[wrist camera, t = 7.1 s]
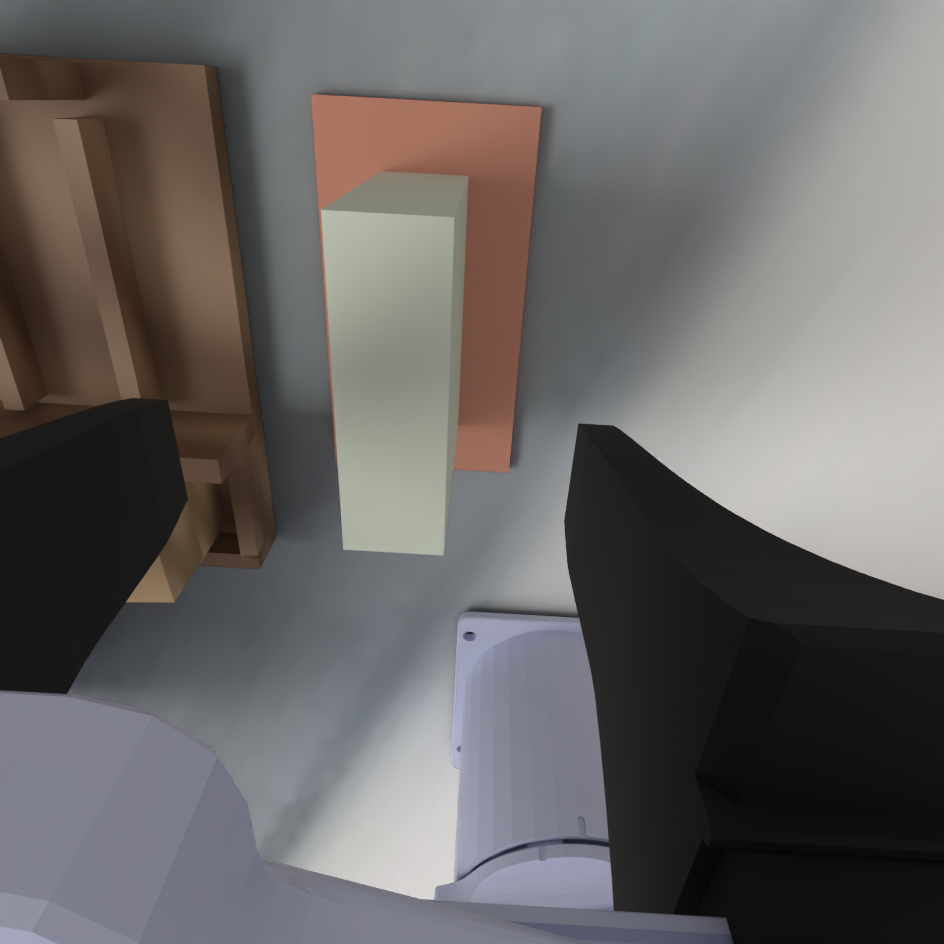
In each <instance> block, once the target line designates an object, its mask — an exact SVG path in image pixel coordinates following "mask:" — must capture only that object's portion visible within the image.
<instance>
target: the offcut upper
mask: <svg viewBox="0 0 944 944" xmlns="http://www.w3.org/2000/svg"><path fill="white" fill-rule="evenodd" d="M202 558H203V554H202V550H201V547H200V543H199V540H198V537H197V533H196V530H195V526H194V523H193V519H192V516H191V512H190V509H189V505H188V502H186V505H185V507H184V509H183V511H182V513H181V516H180V518H179V520H178V522H177V524H176V526H175V528H174V530H173V532H172V534H171V536H170V538H169V540H168V542H167V544H166V545H165V547H164V548H163V550H162V551H161V553H160V554H159V556H158V557H157V558H156V560H155V561H154V563H153V564H152V566H151V567H150V569H149V570H148V571H147V573H146V574H145V576H144V577H143V579H142V580H141V581H140V583H139V584H138V586H137V587H136V588H135V590H134V591H133V593H132V594H131V595H130V597H129V598H128V600H127V601H126V602H175V601H176V599H177V598H178V596H179V595H180V593H181V591H182V590H183V588H184V587H185V585H186V584H187V582H188V580H189V579H190V577H191V576H192V574H193V573H194V571H195V569H196V568H197V566H198V565H199V563H200V561H201V560H202Z"/></svg>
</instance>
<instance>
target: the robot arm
mask: <svg viewBox="0 0 944 944" xmlns="http://www.w3.org/2000/svg"><path fill="white" fill-rule="evenodd" d="M187 500H188V496H187V491H186V486H185V482H184V477H183V472H182V467H181V462H180V457H179V452H178V447H177V442H176V438H175V433H174V428H173V423H172V418H171V413H170V408H169V403H168V400H161V399H144V398H130V399H124V400H119V401H114V402H110V403H107V404H103V405H100V406H96V407H93V408H90V409H86V410H83V411H80V412H77V413H74V414H71V415H68V416H65V417H62V418H59V419H56V420H53V421H50V422H47V423H44V424H41V425H38V426H35V427H32V428H29V429H27V430H24V431H21V432H18V433H15V434H11V435H8V436H5V437H2V438H0V944H944V600H942V599H939V598H935V597H932V596H928V595H925V594H921V593H918V592H915V591H912V590H909V589H905V588H903V587H900V586H897V585H894V584H891V583H888V582H886V581H883V580H880V579H877V578H874V577H871V576H868V575H866V574H863V573H860V572H857V571H855V570H852V569H850V568H847V567H845V566H842V565H840V564H837V563H834V562H832V561H829V560H827V559H825V558H822V557H820V556H818V555H816V554H814V553H811V552H809V551H807V550H805V549H802V548H800V547H798V546H796V545H793V544H791V543H789V542H787V541H785V540H783V539H781V538H779V537H777V536H775V535H773V534H771V533H769V532H767V531H765V530H763V529H761V528H759V527H758V526H756V525H754V524H752V523H750V522H749V521H747V520H745V519H743V518H741V517H740V516H738V515H736V514H734V513H732V512H731V511H729V510H728V509H726V508H724V507H723V506H721V505H719V504H718V503H716V502H715V501H713V500H712V499H710V498H709V497H707V496H706V495H705V494H703V493H702V492H700V491H699V490H697V489H696V488H694V487H693V486H691V485H690V484H689V483H687V482H686V481H684V480H683V479H682V478H680V477H679V476H678V475H676V474H675V473H674V472H672V471H671V470H670V469H669V468H667V467H666V466H665V465H663V464H662V463H661V462H660V461H658V460H657V459H656V458H655V457H653V456H652V455H651V454H650V453H648V452H647V451H646V450H645V449H644V448H642V447H641V446H640V445H639V444H637V443H636V442H635V441H634V440H633V439H631V438H630V437H629V436H628V435H626V434H625V433H624V432H622V431H621V430H620V429H618V428H617V427H615V426H611V425H594V424H578V431H577V438H576V444H575V451H574V458H573V465H572V472H571V479H570V486H569V492H568V499H567V506H566V513H565V520H564V523H565V538H566V551H567V563H568V570H569V575H570V579H571V584H572V589H573V593H574V598H575V602H576V607H577V611H578V616H579V618H573V617H555V616H538V615H521V614H504V613H487V612H465V613H463V614H461V615H460V616H459V619H458V629H457V649H456V669H455V689H454V709H453V729H452V749H451V764H452V765H453V766H454V767H455V768H457V769H460V773H459V792H458V811H457V830H456V849H455V868H454V883H450V884H446V885H441V886H437V887H436V888H435V898H434V900H424V899H418V898H414V897H410V896H406V895H402V894H398V893H394V892H391V891H387V890H383V889H379V888H375V887H371V886H367V885H363V884H359V883H355V882H352V881H348V880H344V879H340V878H336V877H332V876H328V875H324V874H320V873H316V872H312V871H309V870H305V869H301V868H297V867H293V866H289V865H285V864H281V863H277V862H273V861H268V860H264V859H261V857H260V855H259V853H258V850H257V847H256V843H255V838H254V833H253V828H252V823H251V819H250V814H249V809H248V804H247V802H246V800H245V799H244V797H243V795H242V794H241V792H240V791H239V789H238V787H237V786H236V784H235V783H234V781H233V780H232V778H231V776H230V775H229V773H228V772H227V770H226V768H225V767H224V765H223V764H222V762H221V761H220V759H219V757H218V756H217V754H216V753H215V751H214V750H213V748H212V747H210V746H209V745H207V744H206V743H204V742H202V741H201V740H199V739H197V738H196V737H194V736H193V735H191V734H189V733H188V732H186V731H184V730H183V729H181V728H180V727H178V726H176V725H175V724H173V723H172V722H170V721H168V720H167V719H165V718H163V717H162V716H160V715H159V714H157V713H155V712H153V711H148V710H144V709H140V708H135V707H131V706H127V705H122V704H118V703H114V702H109V701H105V700H100V699H96V698H92V697H87V696H83V695H70V694H67V693H68V691H69V689H70V687H71V686H72V684H73V682H74V680H75V678H76V677H77V675H78V673H79V671H80V669H81V667H82V666H83V664H84V662H85V661H86V659H87V658H88V656H89V654H90V653H91V651H92V650H93V648H94V647H95V645H96V644H97V642H98V640H99V639H100V638H101V636H102V635H103V633H104V632H105V631H106V629H107V628H108V626H109V625H110V624H111V622H112V621H113V619H114V618H115V616H116V615H117V614H118V612H119V611H120V609H121V608H122V607H123V605H124V604H125V602H126V601H127V600H128V598H129V597H130V595H131V594H132V593H133V591H134V590H135V588H136V587H137V586H138V584H139V583H140V581H141V580H142V579H143V577H144V576H145V574H146V573H147V571H148V570H149V569H150V567H151V566H152V564H153V563H154V561H155V560H156V558H157V557H158V556H159V554H160V553H161V551H162V550H163V548H164V547H165V545H166V544H167V542H168V540H169V538H170V536H171V534H172V532H173V530H174V528H175V526H176V524H177V522H178V520H179V518H180V516H181V513H182V511H183V509H184V507H185V505H186V502H187ZM466 632H473V634H467V633H466Z"/></svg>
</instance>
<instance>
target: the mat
mask: <svg viewBox="0 0 944 944" xmlns="http://www.w3.org/2000/svg"><path fill="white" fill-rule="evenodd" d="M311 103H312V118H313V133H314V148H315V163H316V178H317V193H318V208H319V223H320V237H321V252H322V267H323V282H324V297H325V312H326V327H327V342H328V357H329V372H330V387H331V401H332V416H333V431H334V446H335V461H336V463H338V461H337V446H336V431H335V416H334V401H333V386H332V370H331V355H330V340H329V325H328V310H327V295H326V279H325V264H324V249H323V234H322V219H321V209H323V208H325V207H326V206H328V205H329V204H331V203H332V202H334V201H335V200H337V199H338V198H340V197H341V196H343V195H345V194H346V193H348V192H349V191H351V190H352V189H354V188H355V187H357V186H358V185H360V184H361V183H363V182H365V181H366V180H368V179H369V178H371V177H372V176H374V175H375V174H377V173H378V172H380V171H391V172H409V173H427V174H445V175H463V176H469V177H468V201H467V226H466V250H465V274H464V298H463V322H462V347H461V371H460V395H459V419H458V432H457V441H456V450H455V459H454V468H453V469H455V470H472V471H490V472H507V473H509V466H510V455H511V444H512V432H513V421H514V410H515V399H516V388H517V377H518V365H519V354H520V343H521V332H522V321H523V310H524V298H525V287H526V276H527V265H528V254H529V243H530V231H531V220H532V209H533V198H534V187H535V176H536V164H537V153H538V142H539V131H540V120H541V109H542V107H531V106H514V105H496V104H478V103H460V102H442V101H424V100H407V99H389V98H371V97H353V96H335V95H318V94H311Z"/></svg>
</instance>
